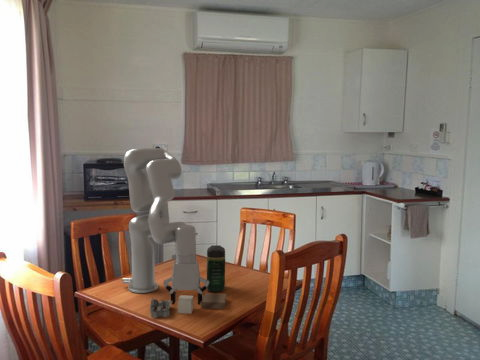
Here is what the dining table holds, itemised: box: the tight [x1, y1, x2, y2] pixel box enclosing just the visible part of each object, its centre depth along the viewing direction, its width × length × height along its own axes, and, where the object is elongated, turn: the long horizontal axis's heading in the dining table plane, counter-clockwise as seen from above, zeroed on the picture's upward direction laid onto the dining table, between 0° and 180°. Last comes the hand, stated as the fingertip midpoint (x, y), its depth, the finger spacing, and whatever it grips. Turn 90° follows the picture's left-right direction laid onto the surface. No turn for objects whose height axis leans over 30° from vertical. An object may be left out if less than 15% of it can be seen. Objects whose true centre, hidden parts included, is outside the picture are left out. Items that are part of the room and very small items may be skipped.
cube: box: [177, 295, 194, 315], centre depth 168 cm, size 5×5×5 cm
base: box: [200, 292, 227, 310], centre depth 175 cm, size 9×9×3 cm
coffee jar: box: [206, 244, 226, 293], centre depth 191 cm, size 10×8×19 cm
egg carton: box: [149, 297, 172, 319], centre depth 167 cm, size 11×8×4 cm
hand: (186, 303), depth 167 cm, fingers open, 9 cm apart
